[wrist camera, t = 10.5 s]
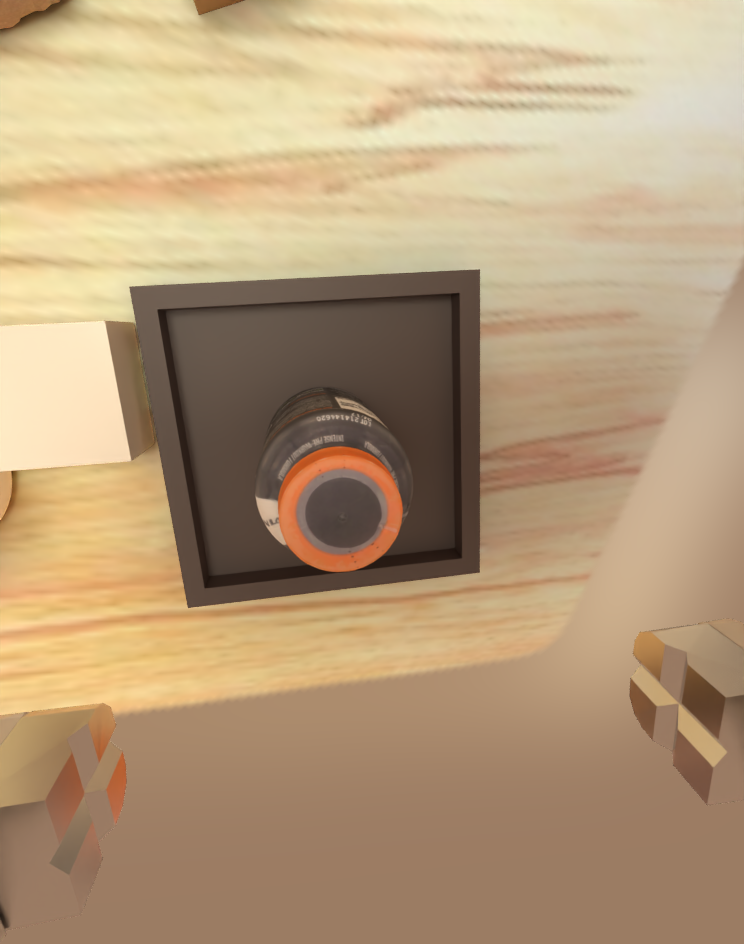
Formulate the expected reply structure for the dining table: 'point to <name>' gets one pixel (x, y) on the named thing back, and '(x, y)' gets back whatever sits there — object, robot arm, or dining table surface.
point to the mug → (5, 491)
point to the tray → (300, 368)
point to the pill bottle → (332, 480)
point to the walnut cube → (212, 5)
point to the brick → (20, 10)
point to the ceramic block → (71, 395)
